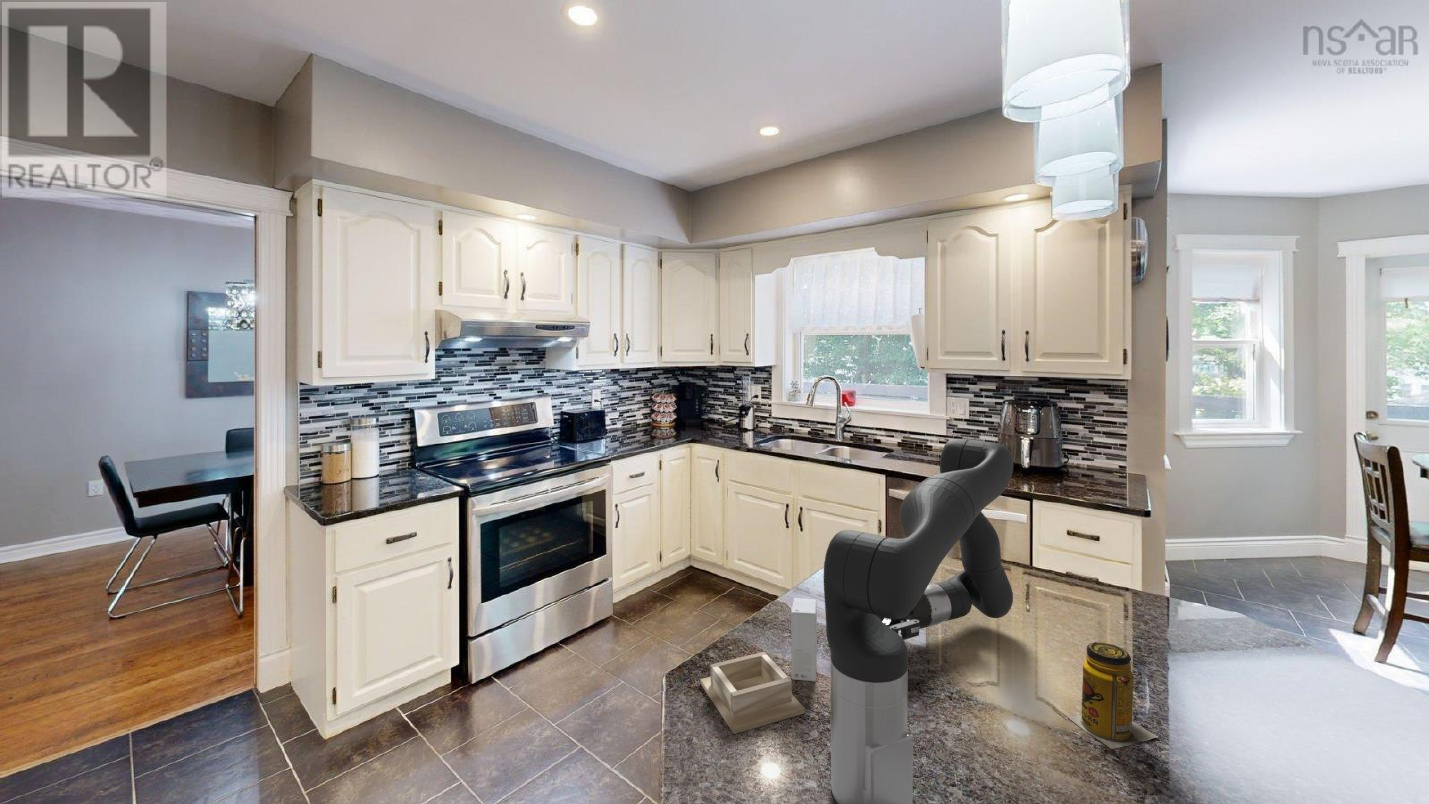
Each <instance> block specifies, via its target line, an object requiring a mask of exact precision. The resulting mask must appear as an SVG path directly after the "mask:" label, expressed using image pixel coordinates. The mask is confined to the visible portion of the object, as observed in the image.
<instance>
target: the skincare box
mask: <svg viewBox="0 0 1429 804" xmlns="http://www.w3.org/2000/svg"><path fill="white" fill-rule="evenodd" d="M791 606H792V607H791V614H790V617H791V618H790V624H791V625H790V627H791V630H790V633H791V635H790V636H791V637H790V639H791V641H790V642H791V647H790V648H791V649H790V650H791V656H790V658H791V673H790V674H791V678H790V679H791V680H794V681H796V680H797V681H805V682H806V681H808V682H817V664H818V663H817V661H818V660H817V655H818V653H817V652H818V650H817V648H818V644H817V642H818V640H817V639H818V635H817V634H818V632H817V630H818V627H817V626H818V624H817V623H818V620H817V619H818V618H817V617H818V616H817V614H818V613H817V610H818V609H817V599H812V598H811V599H810V598H799V597H794V598H793V601H792V605H791Z"/></svg>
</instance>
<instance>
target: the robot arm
mask: <svg viewBox="0 0 1429 804" xmlns="http://www.w3.org/2000/svg"><path fill="white" fill-rule="evenodd" d="M940 453H941V454H940V459H939V473H938V474H935V475H932V476H929V477H927V478H925V479H924V480H922V481H921V482H919V484H917V485H916V486H915V487H914V488H913V489H911V491H909V492H908V494H907V495H906V496H905V497H904V499H903V501H902V502H901V504H900V509H899V521H900V522H899V523H900V526H901V530H902V532H903V534H904V535H903V536H905V537H904V538H894V537H889V536H885V535H879V534H873V533H869V532H865V531H859V530H854V529H853V530H852V529H843V530H841V531H838V532H837V533H835V535H834V536H833V537H832V539H831V540H830V541H829V544H828V545H827V549H826V553H825V556H824V562H823V563H824V564H823V578H822V579H823V595H824V596H823V597H824V609H825V631H826V632H825V633H826V640H827V644H828V647H829V649H830V764H831V765H830V768H831V769H830V777H831V778H830V781H831V782H830V783H831V784H830V785H831V787H830V788H831V792H832V793H831V794H832V796H833V798H834V801H835V802H836V803H837V804H913V802H914V801H913V798H914V797H913V788H914V787H913V784H914V783H913V782H914V781H913V780H914V779H913V777H914V773H913V771H914V770H913V767H914V763H913V762H914V739H913V737H912V735H911V734H910V733H909V732H908V689H909V688H908V683H909V682H908V680H909V679H908V676H909V675H908V674H909V673H908V670H909V669H908V668H909V654H908V653H909V651H908V646H907V643H906V642H905V640H908V639H911V638H915V637H918V636H920V630H922V629H926V628H930V627H934V626H937V625H940V624H943V623H944V622H947V621H953V620H957V619H959V618H963V617H966V616H967V615H968V614H969V613H970V612H971V609H972V607H974V608H976V609H977V610H978V611H979V612H981V614H983V615H985V616H986V617H988V618H990V619H1000V618H1003V617H1004V616H1006V615H1007V614H1008V613H1009V612H1010V611H1011V609H1012V606H1013V602H1014V592H1013V588H1012V585H1011V583H1010V580H1009V578H1008V575H1007V573H1006V571H1005V569H1004V566H1003V564H1002V556H1001V555H1002V553H1001V543H1000V537H999V536H998V533H997V530H996V529H995V527H994V525H993V524H992V523H991V522H990V521H989V518H987V517H986V516H985V515H984V513H983V512H982V511H983V510H984V509H985V508H986V507H987V506H989V505H990V504H991V503H993V502H994V501H996V499H997V498H998V497H1000V496H1001V495H1002V494H1003V493H1004V492H1005V490H1006V489H1007V487H1008V485H1009V483H1010V481H1011V479H1012V476H1013V472H1014V460H1013V456H1012V453H1011V452H1010V451H1009V449H1008V448H1007V447H1006V446H1004V445H1003V444H1000V443H997V442H991V441H982V440H977V439H976V440H974V439H966V438H952V439H949V440H948V441H946V442H945V444H944V446H943V448H942V451H941V452H940ZM957 542H959V548H960V557H961V564H962V567H963V570H961V571H960V572H958V573H957V574H955V575H953V576H952V577H950V578H948V579H947V580H944V581H941V582H935V583H931V581H932V579H933V577H934V576H935V574H936V572H937V570H938V569H939V566H940V565H941V563H942V562H943V560H945V558H946V556H947V555H948V553H950V551H951V550H952V548H954V546H955V545H956V544H957ZM899 631H900V633H899Z"/></svg>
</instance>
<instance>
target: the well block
mask: <svg viewBox="0 0 1429 804" xmlns="http://www.w3.org/2000/svg"><path fill="white" fill-rule="evenodd" d="M709 667H710V668H709V669H710V671H709V672H710V674H709V676H708V677H703V678H700V683H699V684H700V685H701V687H702V688H703V690H704V691H705V693H706V694H707V696H708V697H709V699H710V700H711V701H712V703H713V705H714V706H715V708H716V709H717V711H718V712H719V714H720V715H721V717H722V718H723V720H724V721H725V723H726V725H727V726H728V727H729V729H730V730H731V732H732V733H733V734H734V735H736V734H739V733H742V732H746V731H749V730H753V729H755V728H760V727H763V726H765V725H770V724H773V723H777V722H781V721H783V720H787V719H790V718H793V717H797V716H800V715H804V714H805V713H806V711H805V710H806V708H805V707H804V706H803V705H802V704H801V703H800V701H799V700H798V699H797V698H796V697H795V696H794V695H793V694H792V693H793V692H792V689H793V688H792V686H793V683H792V681H793V679H792V678H790V677H789V676H788V675H787V674H786V673H785V672H784V671H783V670H782V669H781V667H779V666H778V665H777V664H776V663H775V662H774V660H773V659H772V658H770V656H769V655H768V654H767V653H766V652H765V651H761V652H757V653H753V654H750V655H749V654H748V655H745V656H740V657H736V658H732V659H728V660H727V659H726V660H723V661H720V662H716V663H712V664H710V665H709Z"/></svg>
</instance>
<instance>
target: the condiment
mask: <svg viewBox="0 0 1429 804" xmlns="http://www.w3.org/2000/svg"><path fill="white" fill-rule="evenodd" d="M1131 662H1132V657H1131V656H1130V654H1129V652H1128V651H1127V650H1125V649H1124V648H1122V647H1120V646H1118V645H1115V644H1112V643H1107V642H1102V641H1094V642H1091V643H1088V645H1087V646H1086V656H1085V661H1083V665H1082V687H1081V698H1082V699H1081V714H1077V715H1073V716H1067V719H1069V720H1070V721H1072V722H1073V723H1074V724H1076V725H1077V726H1078V727H1080V728H1081V729H1083V731H1085V732H1086V733H1088V734H1089V735H1091V736H1092V737H1093V738H1095V739H1096V740H1097V741H1099V742H1102V744H1103V745H1106V746H1107V747H1108V748H1109V749H1110V750H1112V749H1113V750H1114V749H1119V748H1123V747H1129V746H1130V745H1131V746H1132V745H1135V744H1138V743H1140V742H1146V741H1150V740H1152V739H1155V738H1156V739H1157V738H1159V736H1158V735H1156V734H1155V733H1153V732H1151V731H1149V730H1147V729H1146V728H1144V727H1143V726H1140V725H1139V724H1138V723H1136V722H1134V721H1133V706H1134V703H1133V702H1134V678H1135V677H1134V674H1133V672H1132V665H1131V664H1132V663H1131Z"/></svg>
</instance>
